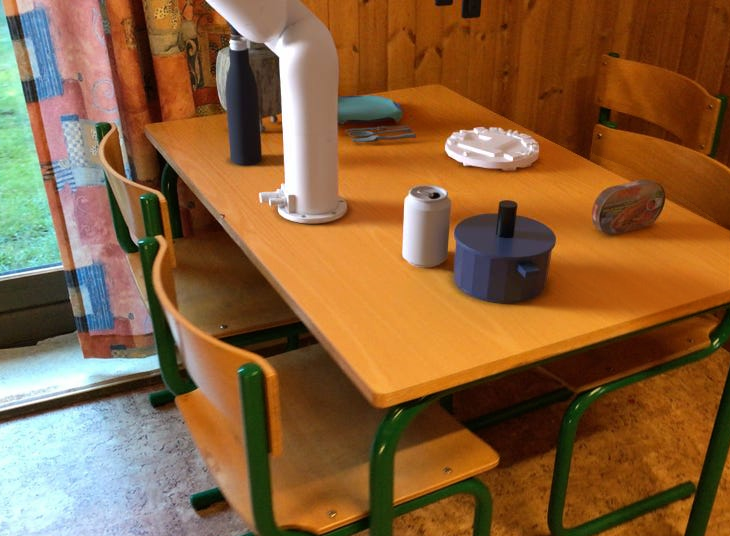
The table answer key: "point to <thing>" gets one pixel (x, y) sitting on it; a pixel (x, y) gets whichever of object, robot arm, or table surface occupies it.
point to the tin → (628, 206)
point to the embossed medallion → (492, 148)
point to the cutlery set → (370, 116)
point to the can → (426, 226)
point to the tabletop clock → (265, 75)
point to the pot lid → (505, 235)
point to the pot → (500, 277)
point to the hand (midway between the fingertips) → (456, 11)
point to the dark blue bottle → (242, 104)
